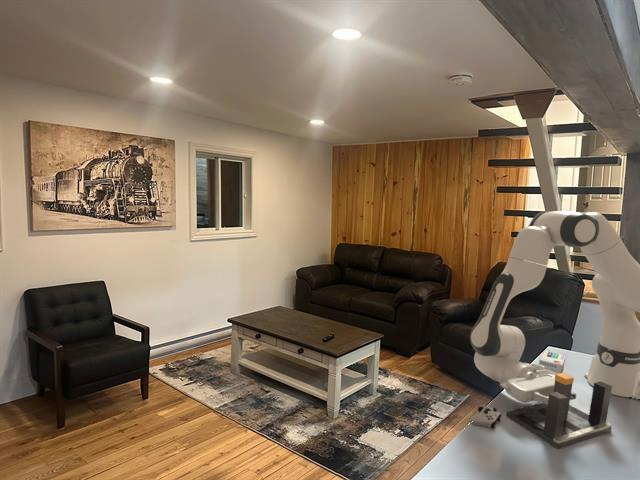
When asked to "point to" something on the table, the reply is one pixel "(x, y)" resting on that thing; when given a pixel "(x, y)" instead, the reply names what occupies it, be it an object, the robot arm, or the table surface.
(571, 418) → the grey peg stand
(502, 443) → the table surface
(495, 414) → the game controller
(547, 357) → the light bulb box
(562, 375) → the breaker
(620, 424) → the table surface
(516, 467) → the table surface
